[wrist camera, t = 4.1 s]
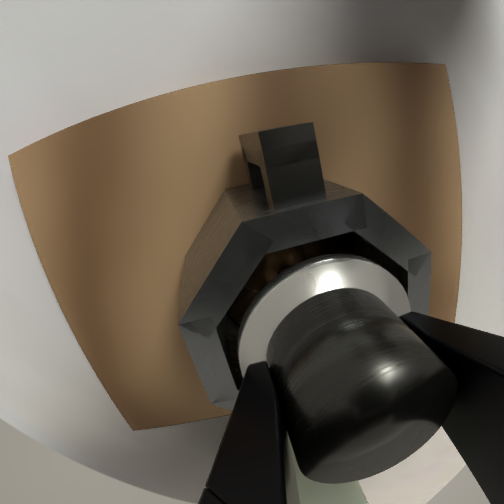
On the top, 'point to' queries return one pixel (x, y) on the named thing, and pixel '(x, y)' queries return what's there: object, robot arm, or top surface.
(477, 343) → the robot arm
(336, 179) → the walnut board
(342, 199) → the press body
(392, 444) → the plunger
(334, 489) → the sage mug
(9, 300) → the top surface
